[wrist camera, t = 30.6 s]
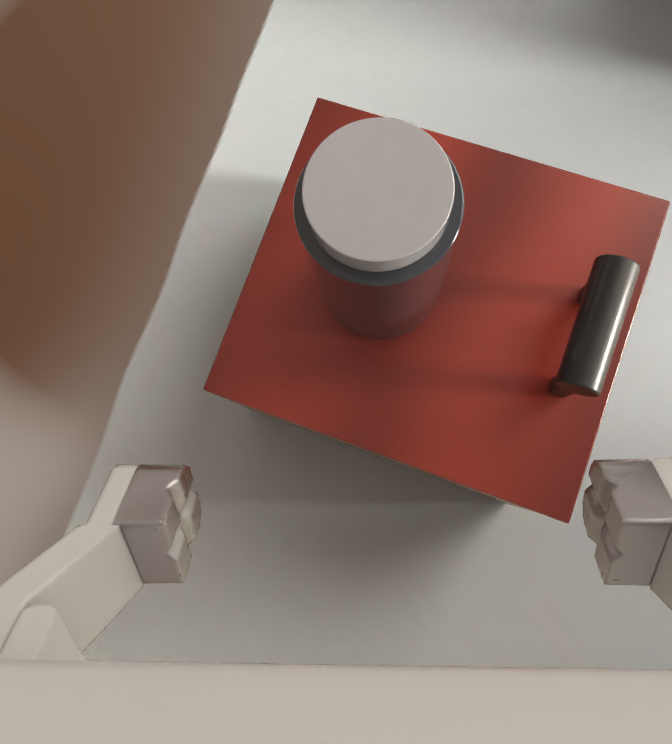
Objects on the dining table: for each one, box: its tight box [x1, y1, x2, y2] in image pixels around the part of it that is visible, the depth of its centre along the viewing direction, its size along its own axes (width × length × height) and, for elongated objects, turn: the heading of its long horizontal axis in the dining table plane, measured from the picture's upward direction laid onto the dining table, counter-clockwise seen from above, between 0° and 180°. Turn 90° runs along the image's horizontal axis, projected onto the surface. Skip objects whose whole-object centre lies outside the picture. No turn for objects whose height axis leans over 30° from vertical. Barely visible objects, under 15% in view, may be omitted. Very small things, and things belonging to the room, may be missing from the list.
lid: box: [204, 98, 670, 523], centre depth 25 cm, size 16×14×5 cm
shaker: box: [293, 117, 465, 338], centre depth 23 cm, size 5×5×9 cm
